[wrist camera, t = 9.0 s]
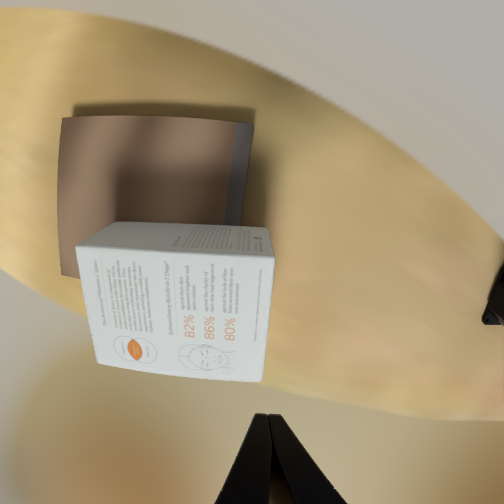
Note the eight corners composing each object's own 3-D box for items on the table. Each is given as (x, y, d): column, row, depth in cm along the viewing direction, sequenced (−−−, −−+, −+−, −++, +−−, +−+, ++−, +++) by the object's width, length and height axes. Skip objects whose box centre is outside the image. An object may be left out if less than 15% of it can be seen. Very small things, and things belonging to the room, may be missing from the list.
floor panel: (253, 126, 19) (253, 124, 17) (231, 294, 22) (229, 303, 21) (72, 118, 18) (62, 117, 17) (70, 267, 22) (61, 274, 20)
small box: (271, 226, 19) (114, 217, 19) (277, 256, 14) (71, 242, 14) (260, 333, 22) (123, 319, 22) (262, 385, 16) (94, 364, 16)
